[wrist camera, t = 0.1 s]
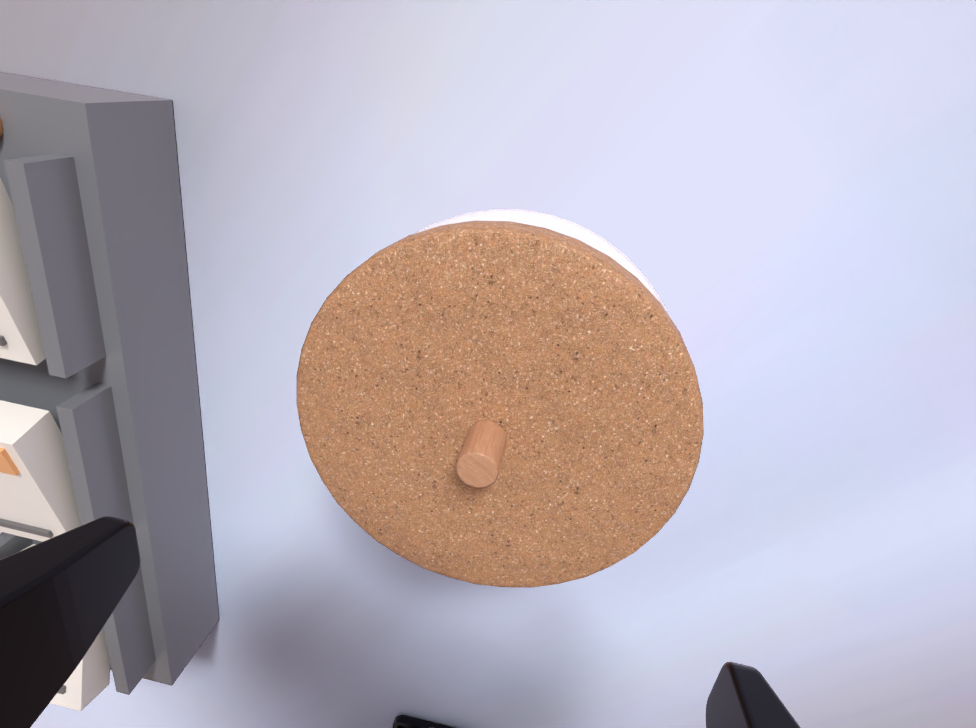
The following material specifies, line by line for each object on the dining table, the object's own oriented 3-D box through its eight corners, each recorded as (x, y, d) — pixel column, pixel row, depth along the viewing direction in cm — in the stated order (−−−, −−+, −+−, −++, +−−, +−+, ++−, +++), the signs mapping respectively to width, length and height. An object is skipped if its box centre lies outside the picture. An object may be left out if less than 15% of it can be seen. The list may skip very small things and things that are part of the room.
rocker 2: (105, 516, 24) (74, 553, 23) (21, 496, 25) (-15, 532, 23) (49, 410, 20) (8, 448, 19) (-51, 389, 21) (-98, 424, 20)
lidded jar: (533, 493, 26) (501, 692, 17) (333, 331, 24) (190, 464, 16) (736, 322, 21) (827, 478, 13) (507, 108, 19) (437, 126, 11)
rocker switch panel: (223, 668, 34) (156, 773, 29) (110, 640, 35) (25, 736, 30) (172, 100, 21) (32, 104, 16) (-7, 70, 22) (-197, 66, 17)
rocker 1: (109, 684, 27) (78, 714, 25) (31, 663, 27) (-5, 691, 25) (114, 563, 25) (82, 586, 24) (33, 543, 26) (-5, 564, 24)
